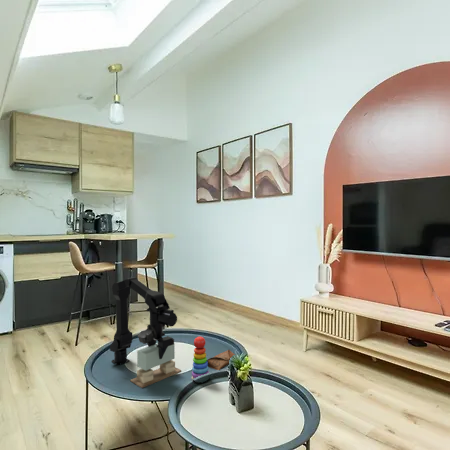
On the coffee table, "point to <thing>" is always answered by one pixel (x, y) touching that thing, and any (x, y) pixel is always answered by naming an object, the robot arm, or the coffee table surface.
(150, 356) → the lintel
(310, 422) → the coffee table surface
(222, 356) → the sunglasses case
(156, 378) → the bridge base
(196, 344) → the stacking toy
